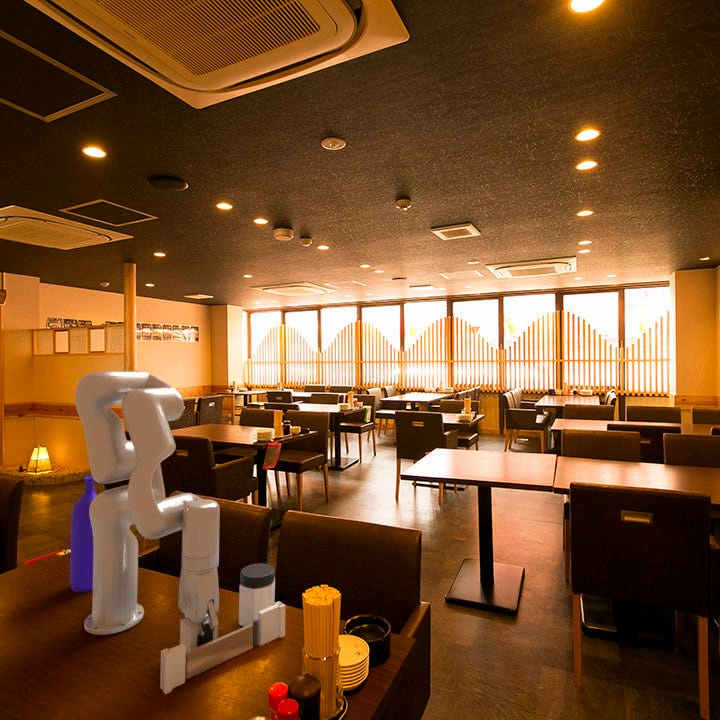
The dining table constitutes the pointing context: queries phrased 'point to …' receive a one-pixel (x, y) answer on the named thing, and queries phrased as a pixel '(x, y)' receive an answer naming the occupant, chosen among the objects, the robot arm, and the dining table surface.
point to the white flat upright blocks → (174, 658)
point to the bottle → (82, 541)
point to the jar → (255, 591)
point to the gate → (221, 649)
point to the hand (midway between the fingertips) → (198, 644)
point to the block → (192, 633)
